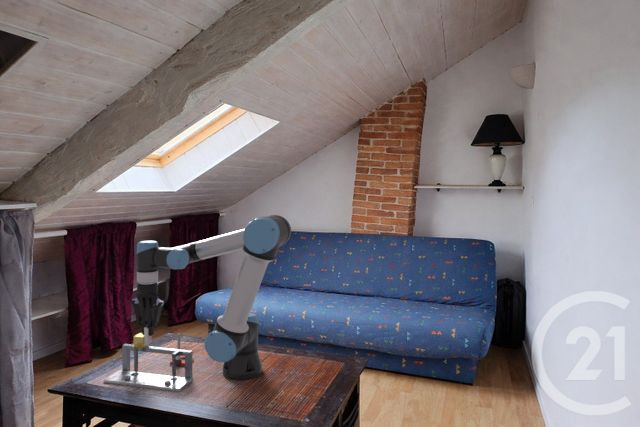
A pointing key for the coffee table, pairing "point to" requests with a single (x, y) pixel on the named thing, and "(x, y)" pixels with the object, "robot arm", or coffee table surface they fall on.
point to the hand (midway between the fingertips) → (148, 343)
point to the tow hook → (179, 358)
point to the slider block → (137, 344)
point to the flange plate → (148, 380)
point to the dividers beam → (173, 352)
